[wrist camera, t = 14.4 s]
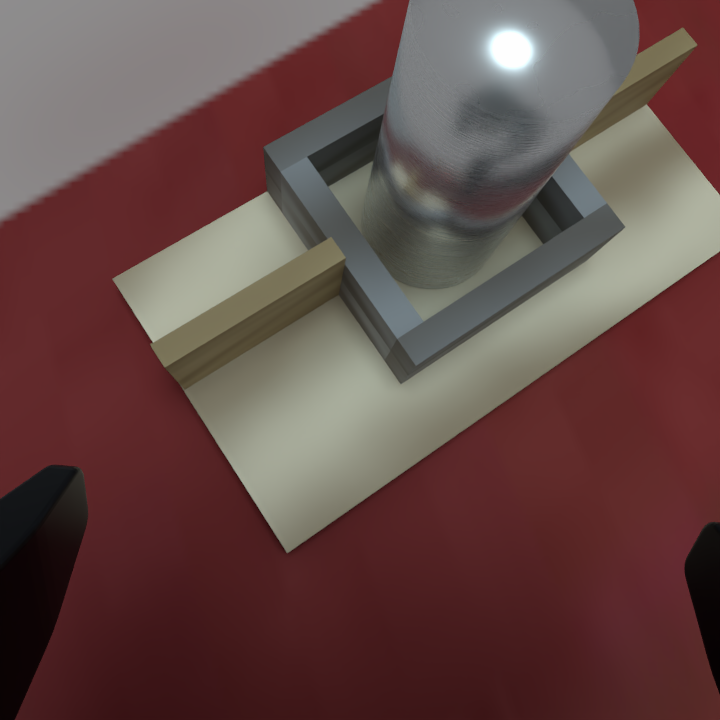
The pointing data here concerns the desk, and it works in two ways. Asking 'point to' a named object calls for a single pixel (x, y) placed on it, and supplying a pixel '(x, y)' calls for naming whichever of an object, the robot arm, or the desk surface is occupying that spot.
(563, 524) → the desk surface
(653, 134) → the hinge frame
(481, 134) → the silver metal cylinder
